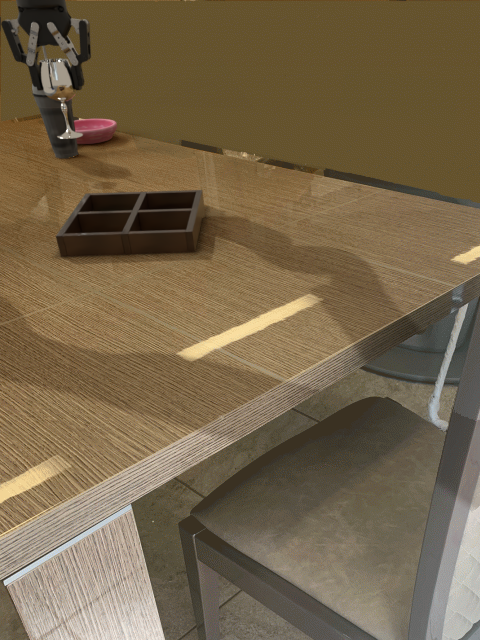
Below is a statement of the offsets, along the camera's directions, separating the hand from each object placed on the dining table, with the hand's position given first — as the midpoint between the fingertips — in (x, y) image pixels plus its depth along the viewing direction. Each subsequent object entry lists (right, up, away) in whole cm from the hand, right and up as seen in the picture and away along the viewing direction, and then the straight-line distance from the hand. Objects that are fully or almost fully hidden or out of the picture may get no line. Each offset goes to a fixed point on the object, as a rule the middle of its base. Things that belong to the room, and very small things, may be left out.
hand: (60, 89), depth 112 cm
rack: (+19, -31, -17) cm, 40 cm away
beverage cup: (-6, -3, +20) cm, 21 cm away
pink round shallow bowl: (-5, +5, +30) cm, 31 cm away
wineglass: (0, -6, +5) cm, 8 cm away
